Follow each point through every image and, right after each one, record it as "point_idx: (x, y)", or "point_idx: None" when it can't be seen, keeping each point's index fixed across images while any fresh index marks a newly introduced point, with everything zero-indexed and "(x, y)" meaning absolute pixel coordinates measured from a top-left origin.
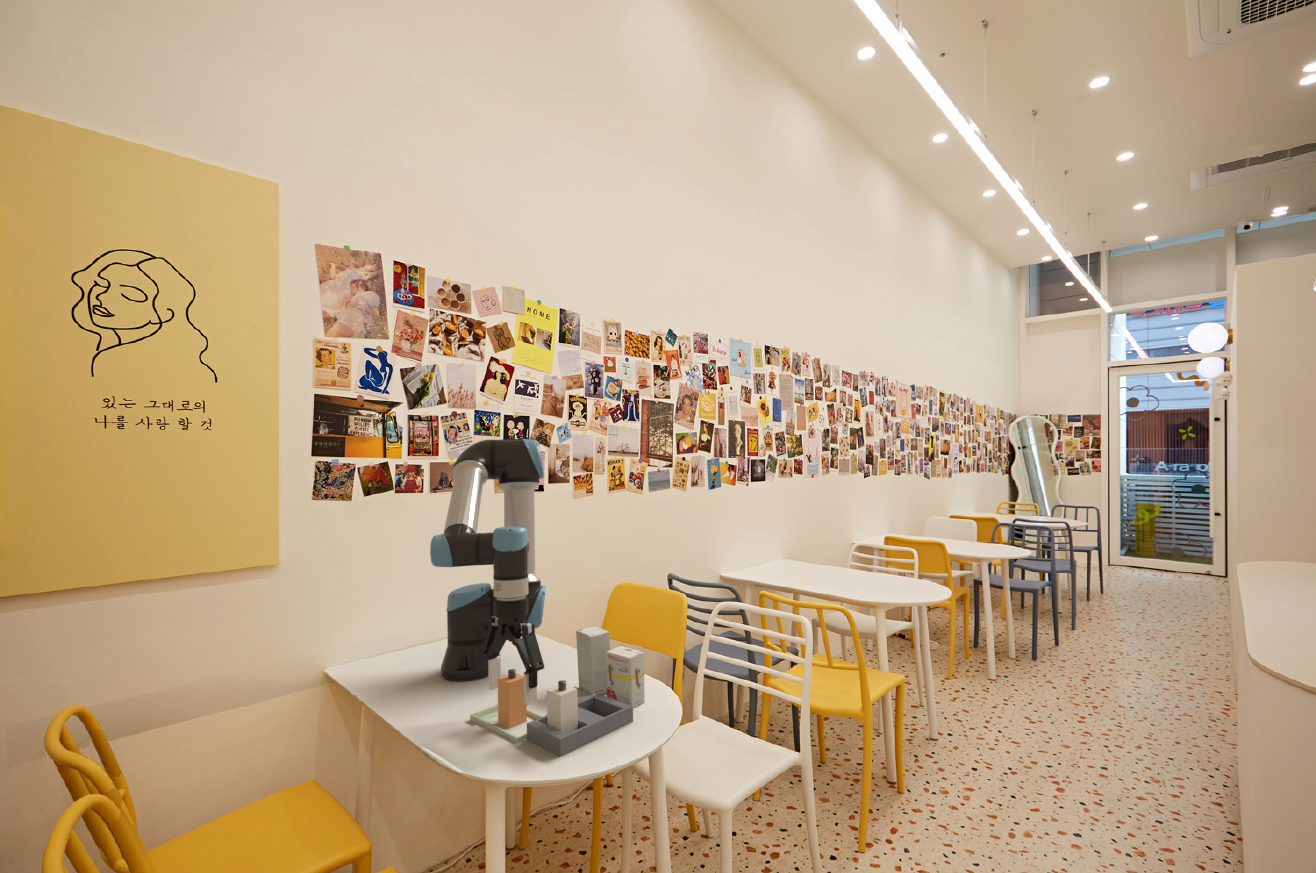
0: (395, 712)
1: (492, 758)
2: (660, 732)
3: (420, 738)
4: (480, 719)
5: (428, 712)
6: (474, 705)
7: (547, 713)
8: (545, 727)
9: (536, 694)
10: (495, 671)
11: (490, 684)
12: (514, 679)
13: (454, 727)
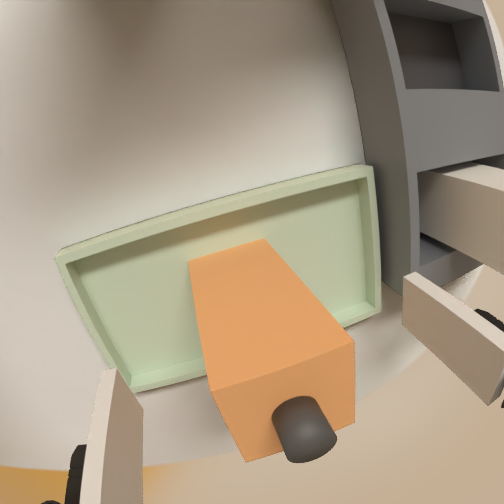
0: (21, 461)
1: (374, 358)
2: (484, 5)
3: (175, 461)
4: (183, 380)
5: (31, 429)
6: (10, 339)
7: (470, 256)
8: (459, 260)
9: (434, 285)
10: (126, 460)
11: (142, 429)
12: (334, 402)
13: (149, 413)
